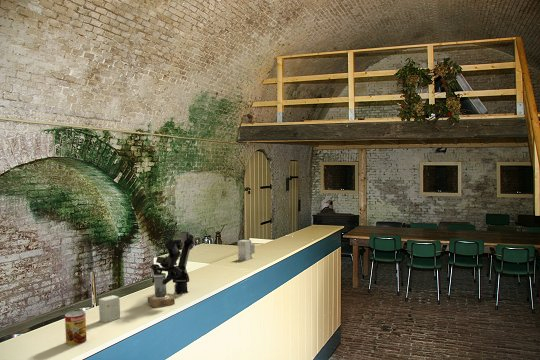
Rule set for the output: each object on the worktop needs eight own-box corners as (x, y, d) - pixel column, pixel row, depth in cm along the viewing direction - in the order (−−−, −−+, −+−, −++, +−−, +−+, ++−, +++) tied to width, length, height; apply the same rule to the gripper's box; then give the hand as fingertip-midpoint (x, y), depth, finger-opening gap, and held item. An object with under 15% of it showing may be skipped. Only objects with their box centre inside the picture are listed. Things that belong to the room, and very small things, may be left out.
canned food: (76, 346, 180) (75, 317, 180) (61, 344, 183) (60, 315, 183) (90, 339, 187) (89, 311, 187) (76, 337, 190) (75, 309, 190)
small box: (114, 316, 218) (113, 294, 218) (120, 318, 215) (119, 296, 215) (99, 320, 212) (98, 298, 212) (105, 322, 208) (104, 300, 208)
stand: (168, 299, 245) (168, 293, 245) (174, 304, 235) (174, 298, 235) (147, 302, 240) (147, 297, 240) (153, 307, 230) (152, 302, 229)
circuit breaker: (255, 257, 359) (255, 238, 359) (245, 260, 347) (245, 241, 347) (248, 256, 363) (247, 238, 363) (238, 259, 351) (237, 241, 351)
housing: (165, 294, 242) (164, 272, 242) (169, 297, 236) (168, 274, 236) (152, 297, 239) (151, 274, 238) (155, 300, 233) (154, 276, 232)
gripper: (152, 249, 245) (137, 273, 236) (177, 251, 235) (163, 276, 226) (162, 260, 252) (149, 284, 243) (187, 263, 242) (174, 288, 233)
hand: (158, 283), depth 236 cm, fingers open, 8 cm apart
